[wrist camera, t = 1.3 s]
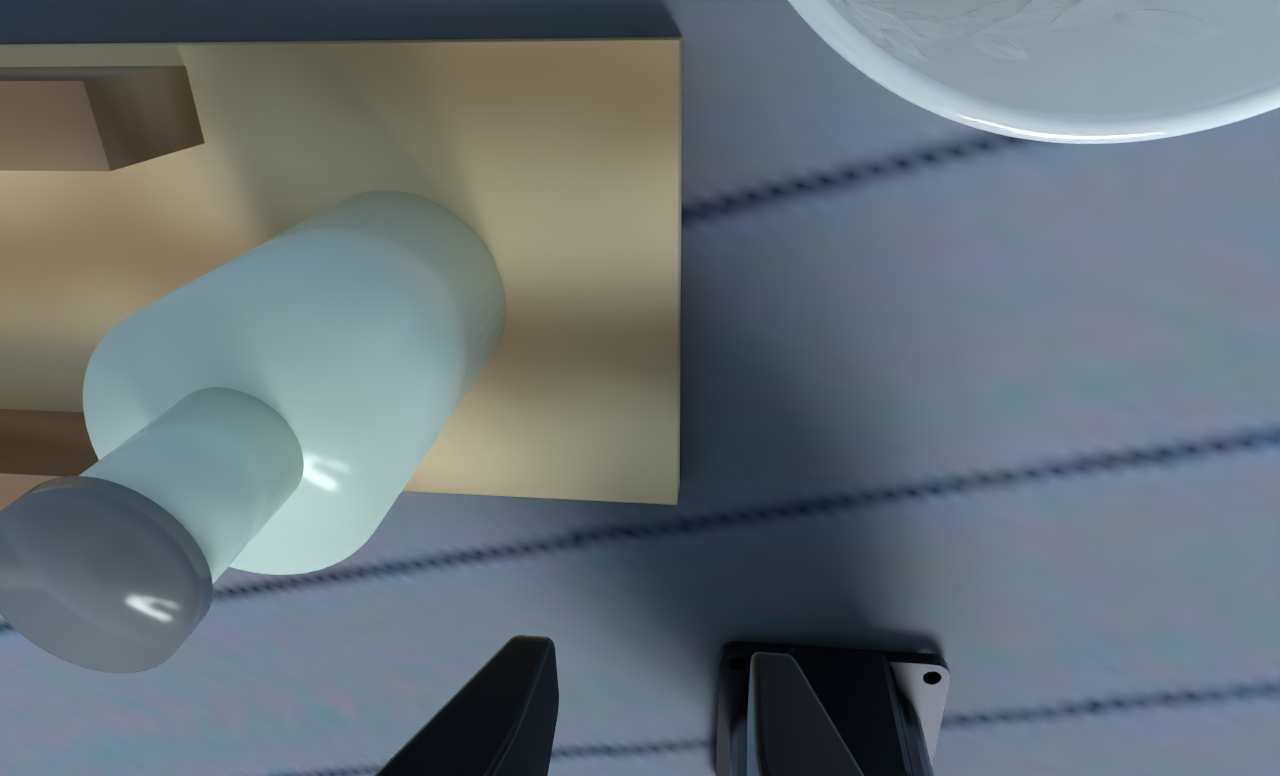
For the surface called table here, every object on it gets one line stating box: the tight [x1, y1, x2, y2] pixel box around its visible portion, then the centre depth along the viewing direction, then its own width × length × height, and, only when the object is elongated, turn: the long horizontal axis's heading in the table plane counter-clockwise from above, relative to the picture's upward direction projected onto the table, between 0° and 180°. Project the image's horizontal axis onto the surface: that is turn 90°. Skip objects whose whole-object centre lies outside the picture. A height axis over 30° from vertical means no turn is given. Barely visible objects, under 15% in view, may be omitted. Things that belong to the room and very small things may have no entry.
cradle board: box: [0, 37, 683, 511], centre depth 18 cm, size 11×23×4 cm, turn 91°
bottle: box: [0, 190, 506, 673], centre depth 14 cm, size 5×5×10 cm
